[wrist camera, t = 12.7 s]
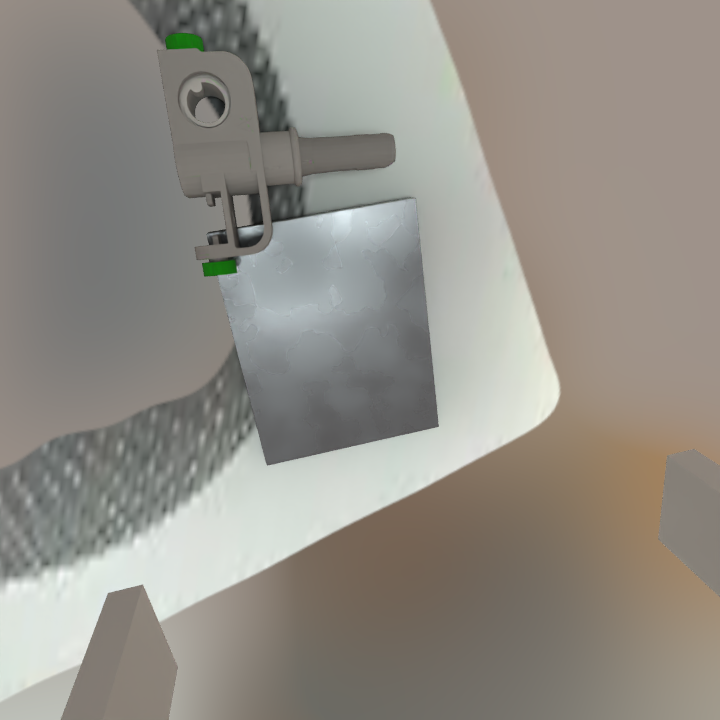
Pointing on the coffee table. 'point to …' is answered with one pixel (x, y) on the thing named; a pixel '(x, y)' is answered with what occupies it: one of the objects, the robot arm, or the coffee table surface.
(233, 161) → the mechanical component
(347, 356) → the plate
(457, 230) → the coffee table surface
